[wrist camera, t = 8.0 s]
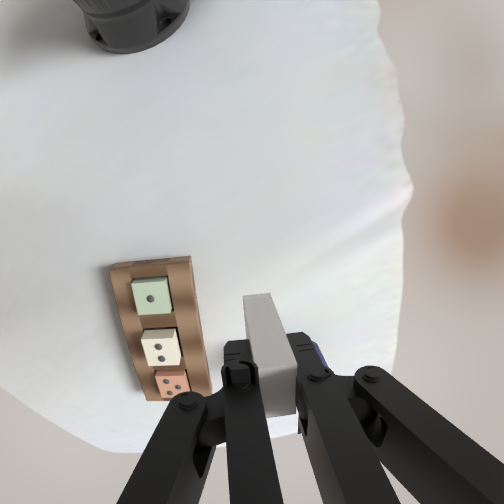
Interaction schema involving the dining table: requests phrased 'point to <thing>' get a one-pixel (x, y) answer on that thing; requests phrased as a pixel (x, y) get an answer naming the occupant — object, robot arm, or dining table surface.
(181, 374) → the three-pip tile
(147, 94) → the dining table surface
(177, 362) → the tile
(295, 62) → the dining table surface
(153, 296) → the tile
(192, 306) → the board
